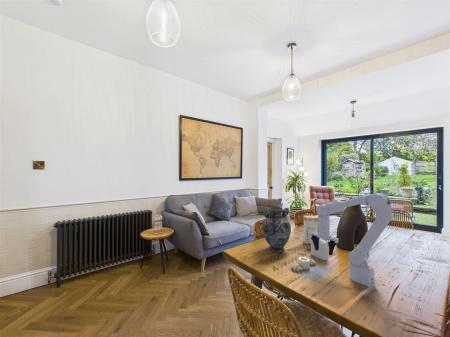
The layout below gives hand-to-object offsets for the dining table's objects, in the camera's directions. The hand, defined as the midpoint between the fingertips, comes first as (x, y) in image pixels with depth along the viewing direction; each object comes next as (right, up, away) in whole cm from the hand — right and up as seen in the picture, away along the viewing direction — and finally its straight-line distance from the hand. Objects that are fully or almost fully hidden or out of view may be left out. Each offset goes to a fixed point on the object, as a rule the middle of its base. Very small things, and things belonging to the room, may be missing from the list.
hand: (323, 252), depth 110 cm
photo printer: (+4, -10, +14) cm, 17 cm away
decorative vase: (-18, -10, +29) cm, 35 cm away
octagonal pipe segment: (-10, -8, +1) cm, 13 cm away
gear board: (-8, -9, -2) cm, 13 cm away
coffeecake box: (+14, -10, +41) cm, 45 cm away
